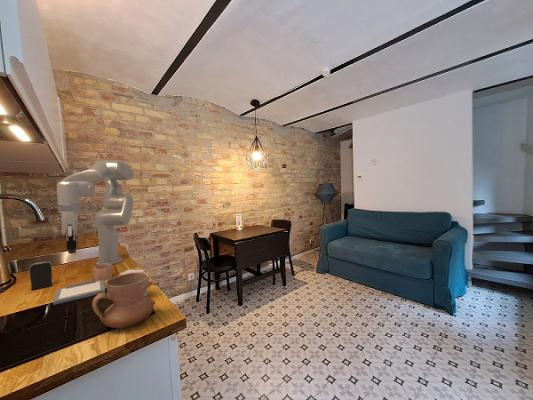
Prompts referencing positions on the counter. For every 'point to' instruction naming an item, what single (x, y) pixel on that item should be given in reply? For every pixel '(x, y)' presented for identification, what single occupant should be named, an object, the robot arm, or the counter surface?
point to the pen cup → (103, 272)
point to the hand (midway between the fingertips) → (72, 247)
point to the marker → (72, 249)
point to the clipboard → (79, 291)
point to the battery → (41, 275)
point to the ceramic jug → (126, 300)
